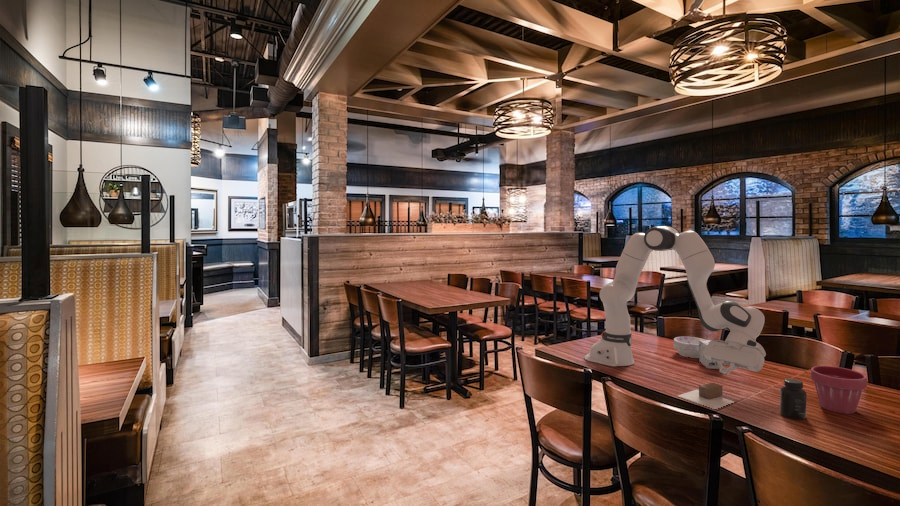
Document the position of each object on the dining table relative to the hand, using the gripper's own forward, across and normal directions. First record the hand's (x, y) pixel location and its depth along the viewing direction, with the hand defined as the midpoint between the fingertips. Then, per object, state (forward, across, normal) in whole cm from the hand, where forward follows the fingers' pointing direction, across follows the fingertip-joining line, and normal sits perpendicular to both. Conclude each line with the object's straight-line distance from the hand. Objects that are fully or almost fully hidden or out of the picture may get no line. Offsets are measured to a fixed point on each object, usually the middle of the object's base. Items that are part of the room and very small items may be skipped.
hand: (723, 372), depth 160 cm
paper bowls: (-20, -36, +31) cm, 52 cm away
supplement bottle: (+6, +23, +6) cm, 24 cm away
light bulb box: (-15, -22, +26) cm, 37 cm away
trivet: (+14, 0, -2) cm, 14 cm away
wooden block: (+6, 0, +2) cm, 7 cm away
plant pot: (-8, +27, +19) cm, 34 cm away
